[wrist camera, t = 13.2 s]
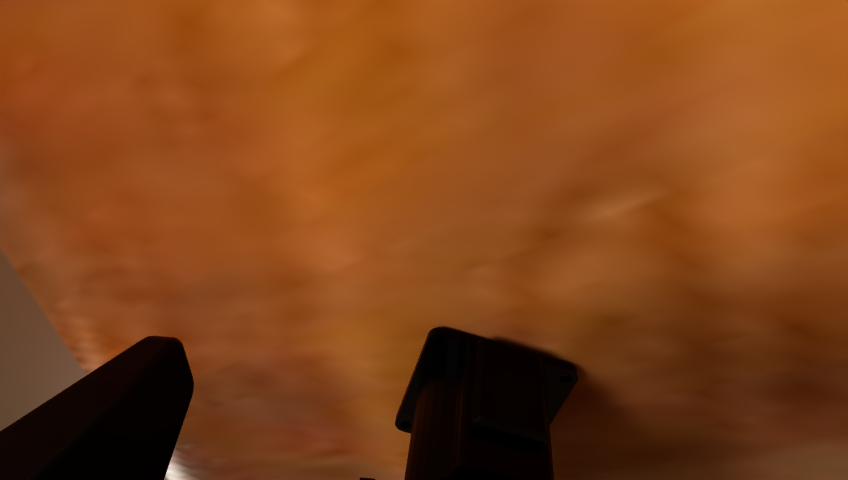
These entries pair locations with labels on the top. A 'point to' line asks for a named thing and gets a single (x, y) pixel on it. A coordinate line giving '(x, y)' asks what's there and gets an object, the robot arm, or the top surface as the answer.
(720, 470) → the top surface
